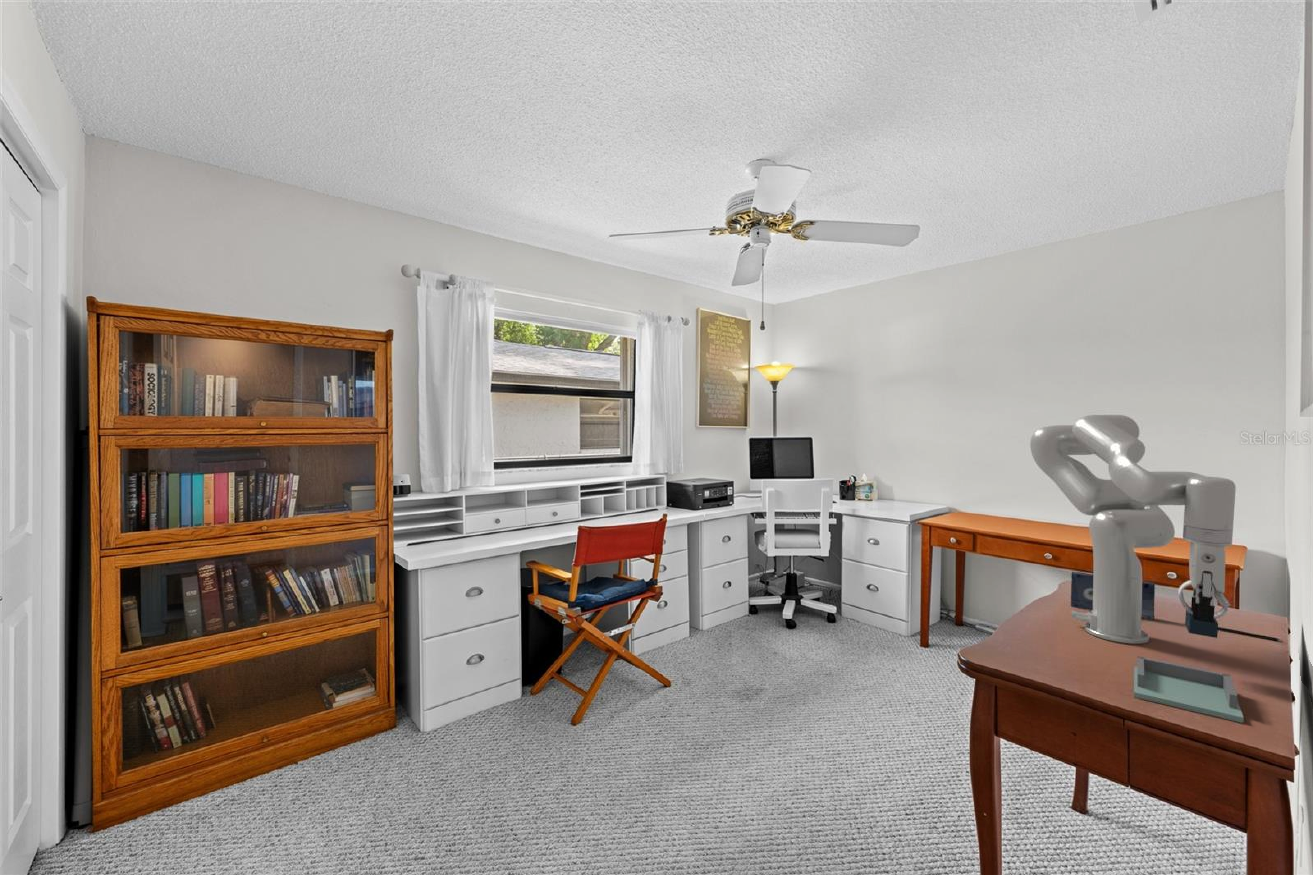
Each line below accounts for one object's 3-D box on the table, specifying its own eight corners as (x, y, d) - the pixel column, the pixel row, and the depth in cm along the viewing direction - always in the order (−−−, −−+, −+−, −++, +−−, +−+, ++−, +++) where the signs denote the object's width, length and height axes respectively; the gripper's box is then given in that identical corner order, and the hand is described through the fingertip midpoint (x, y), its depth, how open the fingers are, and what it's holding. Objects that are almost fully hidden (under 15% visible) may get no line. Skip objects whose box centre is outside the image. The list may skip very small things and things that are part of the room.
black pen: (1282, 642, 138) (1282, 638, 138) (1282, 644, 137) (1282, 639, 137) (1212, 629, 147) (1212, 625, 147) (1212, 630, 146) (1212, 626, 146)
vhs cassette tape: (1154, 618, 154) (1155, 582, 154) (1154, 621, 152) (1155, 585, 152) (1071, 604, 166) (1071, 570, 166) (1070, 606, 164) (1070, 572, 164)
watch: (1230, 640, 117) (1234, 588, 116) (1177, 631, 122) (1181, 581, 121) (1224, 630, 121) (1228, 580, 120) (1174, 622, 126) (1177, 574, 125)
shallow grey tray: (1134, 697, 111) (1134, 679, 111) (1134, 670, 122) (1134, 654, 122) (1243, 723, 101) (1244, 704, 101) (1232, 692, 113) (1233, 674, 113)
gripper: (1237, 546, 111) (1231, 636, 113) (1227, 530, 124) (1222, 612, 125) (1185, 539, 116) (1180, 627, 117) (1180, 525, 129) (1176, 604, 130)
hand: (1201, 618), depth 121 cm, fingers closed on watch, 3 cm apart
